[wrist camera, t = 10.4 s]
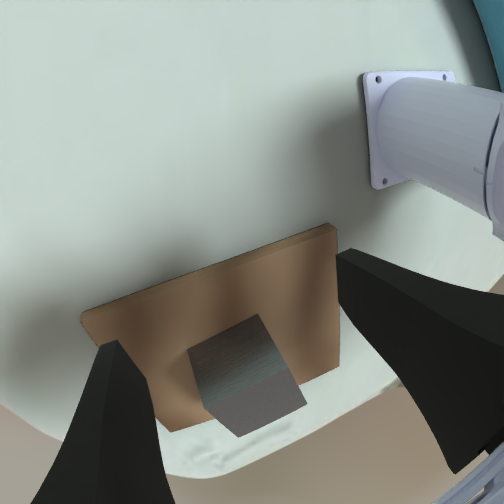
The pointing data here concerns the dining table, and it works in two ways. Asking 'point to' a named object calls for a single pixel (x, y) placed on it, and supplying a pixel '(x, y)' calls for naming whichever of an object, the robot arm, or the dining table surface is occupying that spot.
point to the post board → (229, 318)
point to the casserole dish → (493, 32)
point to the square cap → (244, 377)
